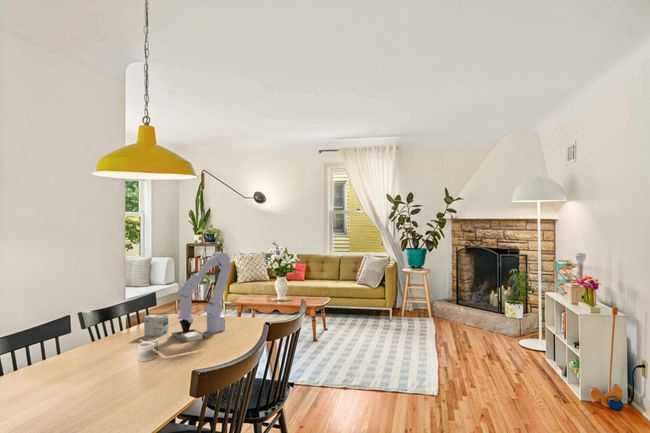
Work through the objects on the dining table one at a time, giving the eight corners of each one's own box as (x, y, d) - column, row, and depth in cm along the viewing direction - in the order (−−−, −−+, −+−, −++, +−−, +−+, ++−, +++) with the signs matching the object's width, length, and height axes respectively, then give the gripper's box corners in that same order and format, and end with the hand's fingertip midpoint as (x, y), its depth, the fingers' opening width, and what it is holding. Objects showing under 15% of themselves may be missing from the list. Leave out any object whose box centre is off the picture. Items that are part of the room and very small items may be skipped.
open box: (193, 333, 237) (193, 328, 237) (207, 340, 224) (207, 335, 224) (171, 337, 229) (171, 332, 229) (184, 344, 216) (184, 339, 216)
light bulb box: (168, 334, 236) (168, 314, 236) (163, 337, 229) (163, 317, 229) (150, 333, 237) (149, 314, 237) (143, 337, 230) (143, 316, 230)
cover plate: (196, 335, 229) (196, 331, 229) (202, 338, 223) (202, 334, 223) (181, 338, 224) (181, 333, 224) (187, 341, 218) (187, 337, 218)
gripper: (173, 306, 233) (173, 332, 233) (183, 311, 222) (183, 338, 222) (186, 305, 237) (186, 330, 237) (196, 309, 226) (197, 335, 226)
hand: (185, 333), depth 230 cm, fingers closed
